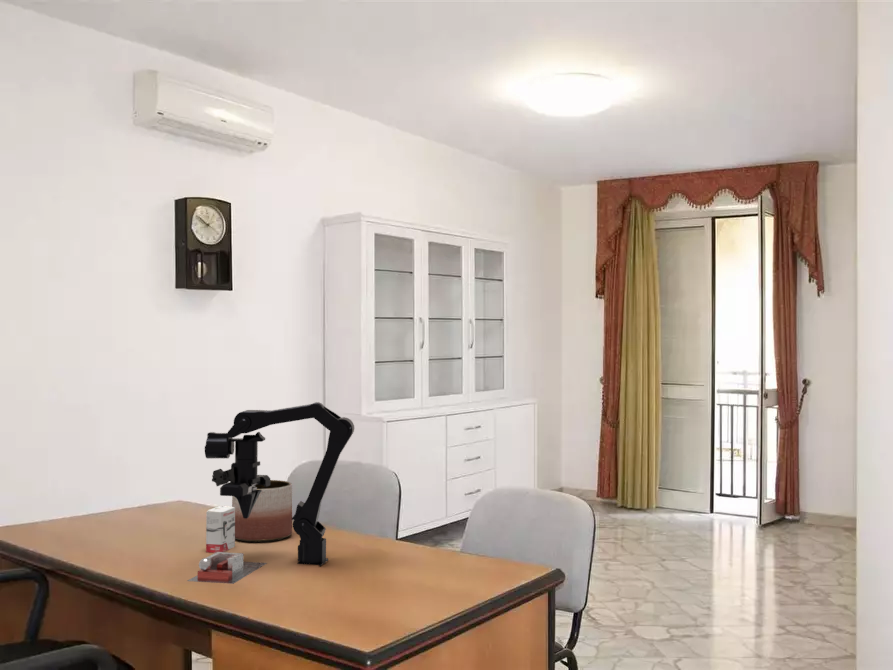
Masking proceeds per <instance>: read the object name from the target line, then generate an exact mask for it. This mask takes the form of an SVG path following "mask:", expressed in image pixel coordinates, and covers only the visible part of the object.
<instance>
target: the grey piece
mask: <svg viewBox="0 0 893 670" xmlns="http://www.w3.org/2000/svg"><path fill="white" fill-rule="evenodd" d="M267 564H268V562H261V561H260V562H259V561H256V562H254V561H243V572H241V573H240V574H238V575H236V576H234V577H233V578H232V571H228V560H224V561H222V562H220V563H218V564H217V570H209V569H210V568H211V566H212V562H211V560H210V559H208V558H206V557H204V558H202V559H200V560H199V562H198V567H199V570H197V575H195V576H193V577H191V578H190V579H188V580H186V582H197V583H199V582H201V583H211V584H212V583H214V584H215V583H216V584H229V585H230V584H233V585H234V584H235V583H238V582H239V581H240V580H242V579H243V578H245V577H247V576H248V575H250V574H252V573H254V572H255V571H257V570H258V569H260V568H262V567H263V566H265V565H267Z"/></svg>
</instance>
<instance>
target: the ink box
mask: <svg viewBox="0 0 893 670" xmlns="http://www.w3.org/2000/svg"><path fill="white" fill-rule="evenodd" d="M205 521H206V524H205V526H206V527H205V529H206V530H205V531H206V532H205V534H206V535H205V552H206V553H212V554H214V553H216V552H227V551H228V550H231V549H232V548H234V547H235V546H236V539H235V507H232V506H225V505H218V506H216V507H213V508H209V509H208V510H206V520H205Z"/></svg>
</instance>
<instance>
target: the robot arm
mask: <svg viewBox="0 0 893 670" xmlns="http://www.w3.org/2000/svg"><path fill="white" fill-rule="evenodd" d="M310 419H314V420H316V421H317V422H318V423H319V424H321V426H323V427H324V428H326V429H327V430H328V431H329V436H328V440H327V447H326V450H325V453H324V456H323V459H322V461H321V464H320V466H319V468H318V471H317V474H316V476H315V479H314V481H313V484H312V487H311V488H310V490H309V493H308V496H307V498H306V500H305V502H304V501H302V500H300V501H299V503H298V504H296V508H295V513H294V515H292V530H293V531H294V532H295V534H297V535H298V536H299V538H300V539H299V544H298V545H297V561H298V562H297V563H296V564H297V565H311V566H312V565H313V566H318V567H321V566H323V565H325V563H327V562H328V561H329V558H327V538H326V537H325V538H324V535H325V533H326V530H327V528H326V527H325V526H324V525H323V524H322V523H321V522H320V521H319V516H320V512H321V511H320V510H321V506H322V501H323V499H324V496H325V494H326V490H327V488H328V486H329V483H330V481H331V477H332V476H333V473H334V470H335V468H336V465H337V464H338V460H339V459H340V456H341V454H342V452H343V450H344V448H345V447H346V446H347V443H348V442H349V441H350V439H351V438H352V436H353V434H354V432H355V425H354V424H355V423H354V422H353V421H352V419H350V418H348V417H346V416H345V417H344V416H343V417H341V416H340V415H339V414H337V413H335V412H334V411H332V410H331V409H329V408H327V407H326V406H325V405H324V404H323V403H322V402H319V401H318V402H317V401H316V402H315V401H314V402H313V403H310V404H309V403H308V404H305V405H298V406H291V407H285V408H279V409H273V410H263V409H245V410H244V411H239V412H238V413H237V414H236V415H235V417H234V418H233V424H232V426H231V427H230V429H229V430H228V431H227V432H215V431H210V432H207V434H206V436H207V438H206V440H205V445H204V456H205V458H206V459H230V457H231V455H234V462H232V463H231V465H230V469H226V470H223V469H221V468H219V469H215V470H213V471H212V476H211V477H212V478H211V482H212V483H215V485H216V487H219V486H220V487H219V496H220V497H221V496H224V497H225V496H226V497H232V496H234V497H235V498H237V500H238V502H239V505H240V509H241V512H242V515H243V518H246V519H247V518H249V515H250V513H251V511H252V509H253V507H254V504H255V502H256V500H257V498H258V496H259V494H260V492H261V491H262V490H257V487H255V485H264V486H265V487H267V486H270V480H271V477H270V476H269V475H268V474H258V467H259V466H261V461H258V454H259V453H258V451H259V450H258V448H259V447H258V446H259V445H258V443H259V442H263V441H266V437H265V436H264V435H262V433H261V431H258V432H257V430H260V429H263V428H266V427H269V426H272V425H278V424H283V423H289V422H296V421H304V420H310ZM254 431H256V433H255V434H249V433H252V432H254ZM242 434H244V435H243V436H242V438H241V437H240V438H239V437H238V436H240V435H242ZM237 437H238V438H237ZM221 485H222V486H221Z"/></svg>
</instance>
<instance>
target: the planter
mask: <svg viewBox="0 0 893 670" xmlns="http://www.w3.org/2000/svg"><path fill="white" fill-rule="evenodd" d="M255 487H257V490H262V491H261V492H260V494H259V496H258V498H257V500H256V502H255V504H254V507H253V509H252V511H251V513H250V515H249V518H247V519H246V518H243V515H242V512H241V509H240V505H239V502H238V500H237V498H235V497H234V496H231V497H232V499H231V507H235V540H237V541H240V542H246V543H270V542H276V541H277V542H278V541H280V540H284V539H286V538H288V537H290V536H291V535H292V534H293V520H292V518H293V485H292V482H290V481H288V480H287V481H286V480H278V479H270V486H267V487H265V486H264V485H255Z"/></svg>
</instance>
